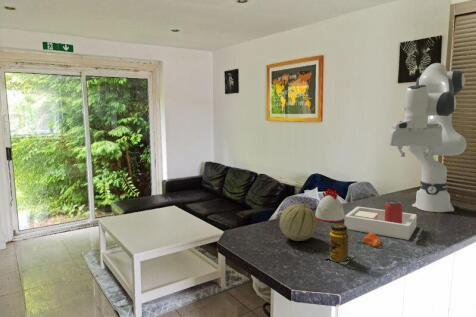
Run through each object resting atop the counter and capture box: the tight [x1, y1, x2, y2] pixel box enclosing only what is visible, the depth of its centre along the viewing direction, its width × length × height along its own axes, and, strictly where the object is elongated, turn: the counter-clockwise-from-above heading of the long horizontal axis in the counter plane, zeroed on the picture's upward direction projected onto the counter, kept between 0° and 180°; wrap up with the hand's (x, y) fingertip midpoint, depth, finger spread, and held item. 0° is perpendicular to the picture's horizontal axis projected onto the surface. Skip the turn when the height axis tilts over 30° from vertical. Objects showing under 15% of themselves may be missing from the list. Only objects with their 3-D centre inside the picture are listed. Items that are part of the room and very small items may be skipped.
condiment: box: [329, 223, 355, 266], centre depth 114 cm, size 7×8×12 cm
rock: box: [363, 233, 382, 247], centre depth 126 cm, size 12×12×4 cm
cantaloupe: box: [279, 202, 318, 242], centre depth 132 cm, size 15×15×15 cm
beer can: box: [384, 200, 403, 224], centre depth 137 cm, size 7×7×12 cm
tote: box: [343, 206, 418, 241], centre depth 141 cm, size 18×25×6 cm
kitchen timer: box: [314, 188, 346, 223], centre depth 157 cm, size 14×14×15 cm
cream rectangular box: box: [354, 211, 378, 220], centre depth 144 cm, size 8×8×5 cm
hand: (414, 156), depth 140 cm, fingers open, 8 cm apart
